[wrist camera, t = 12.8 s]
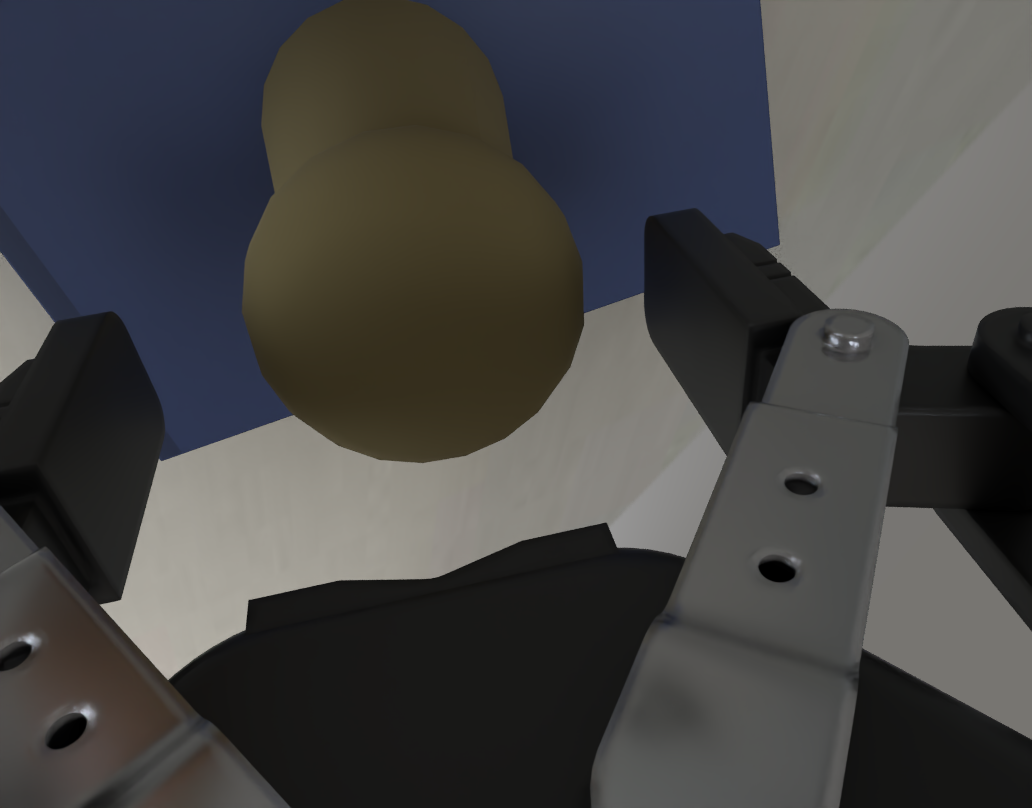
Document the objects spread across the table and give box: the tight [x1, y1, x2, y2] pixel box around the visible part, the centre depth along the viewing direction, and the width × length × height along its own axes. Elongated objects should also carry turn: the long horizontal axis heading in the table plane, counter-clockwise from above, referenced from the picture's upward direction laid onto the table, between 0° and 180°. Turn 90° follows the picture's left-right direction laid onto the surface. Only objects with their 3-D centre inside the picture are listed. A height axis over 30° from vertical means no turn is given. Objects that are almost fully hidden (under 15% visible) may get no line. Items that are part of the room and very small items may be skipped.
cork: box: [242, 0, 584, 463], centre depth 15 cm, size 6×6×11 cm
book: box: [0, 0, 780, 461], centre depth 21 cm, size 20×14×3 cm
